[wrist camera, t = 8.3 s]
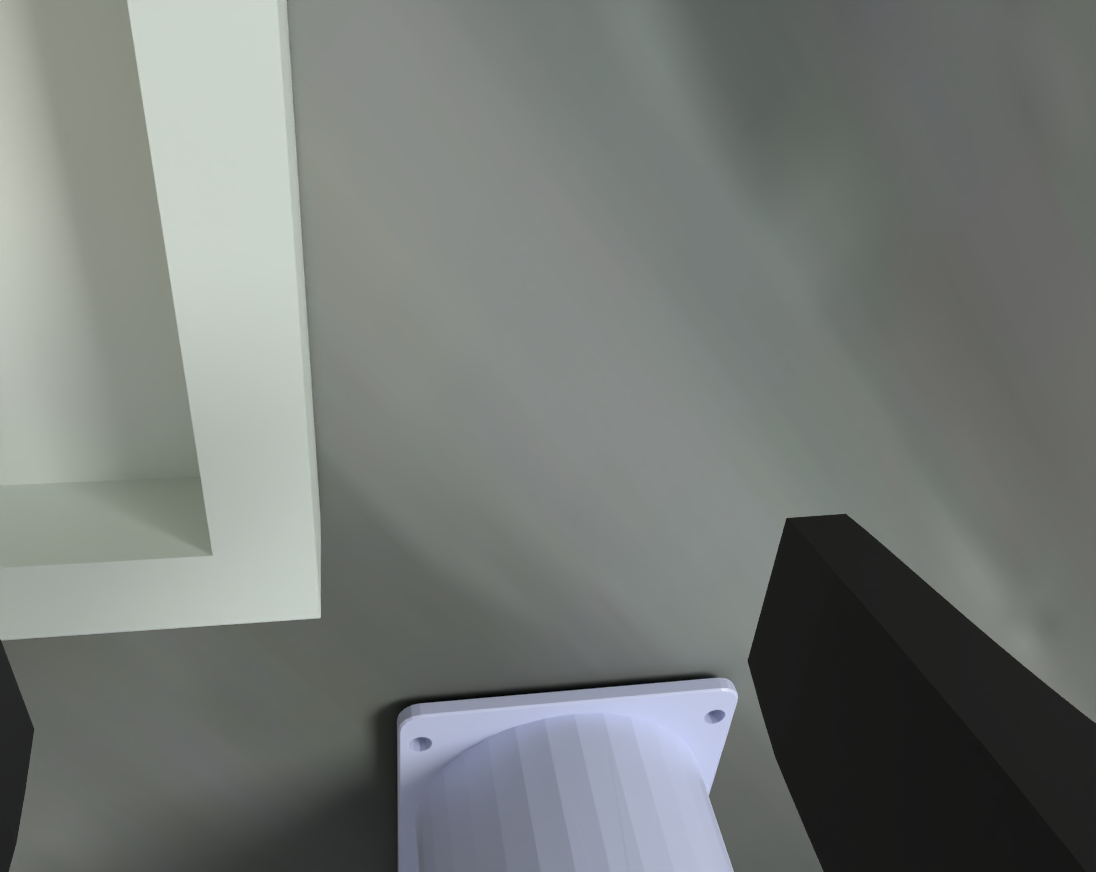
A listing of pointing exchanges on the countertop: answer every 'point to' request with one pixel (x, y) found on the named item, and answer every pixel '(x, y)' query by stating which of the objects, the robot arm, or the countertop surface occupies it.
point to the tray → (152, 321)
